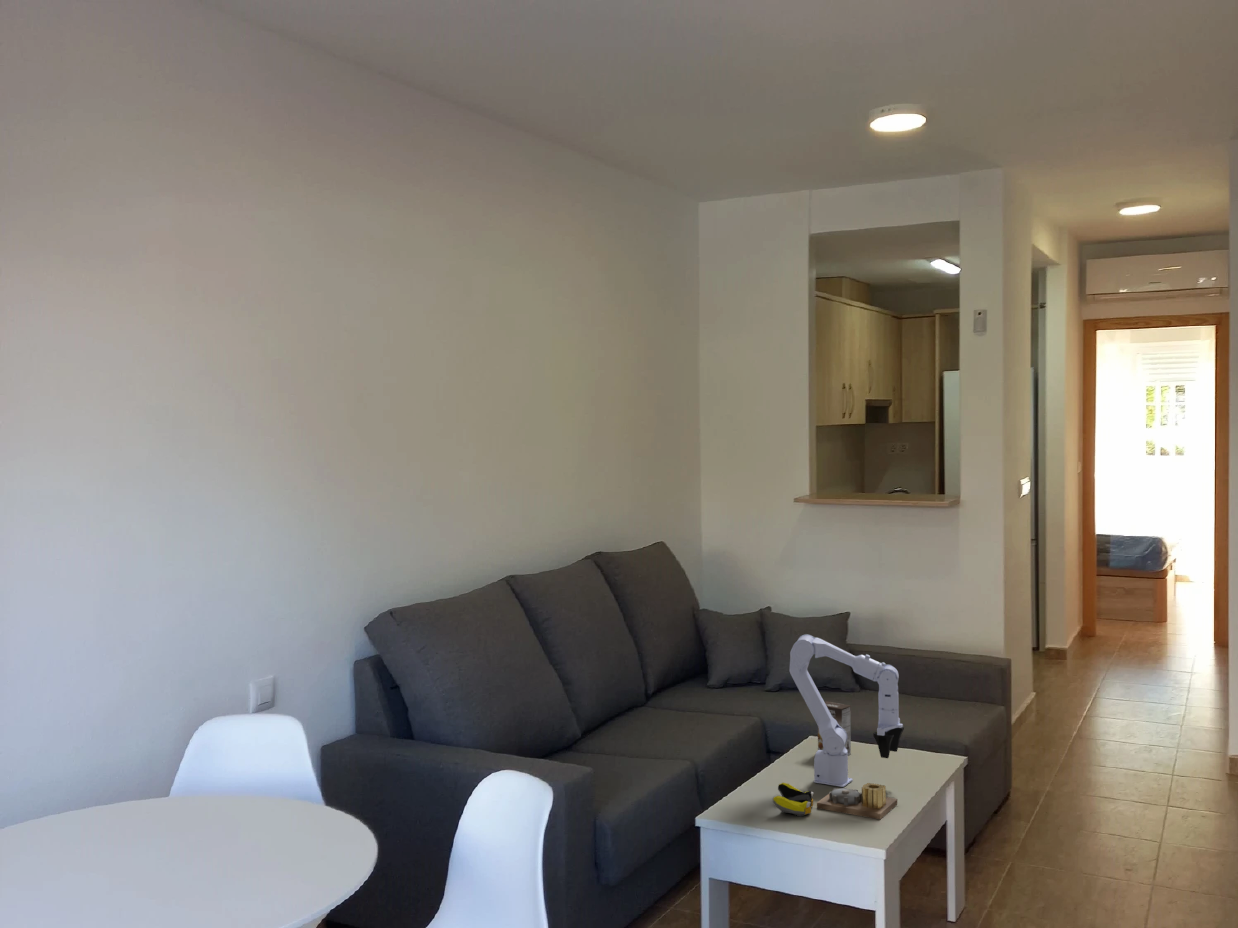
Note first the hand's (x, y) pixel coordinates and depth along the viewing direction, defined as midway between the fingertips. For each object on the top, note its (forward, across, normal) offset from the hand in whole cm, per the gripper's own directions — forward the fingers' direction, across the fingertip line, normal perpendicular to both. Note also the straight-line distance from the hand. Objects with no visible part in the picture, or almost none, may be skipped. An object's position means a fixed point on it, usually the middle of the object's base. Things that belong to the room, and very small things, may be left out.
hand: (889, 754), depth 316 cm
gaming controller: (+10, -32, +16) cm, 37 cm away
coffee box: (+10, +23, +26) cm, 36 cm away
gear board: (+9, -21, +2) cm, 23 cm away
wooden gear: (+8, -22, -3) cm, 24 cm away
